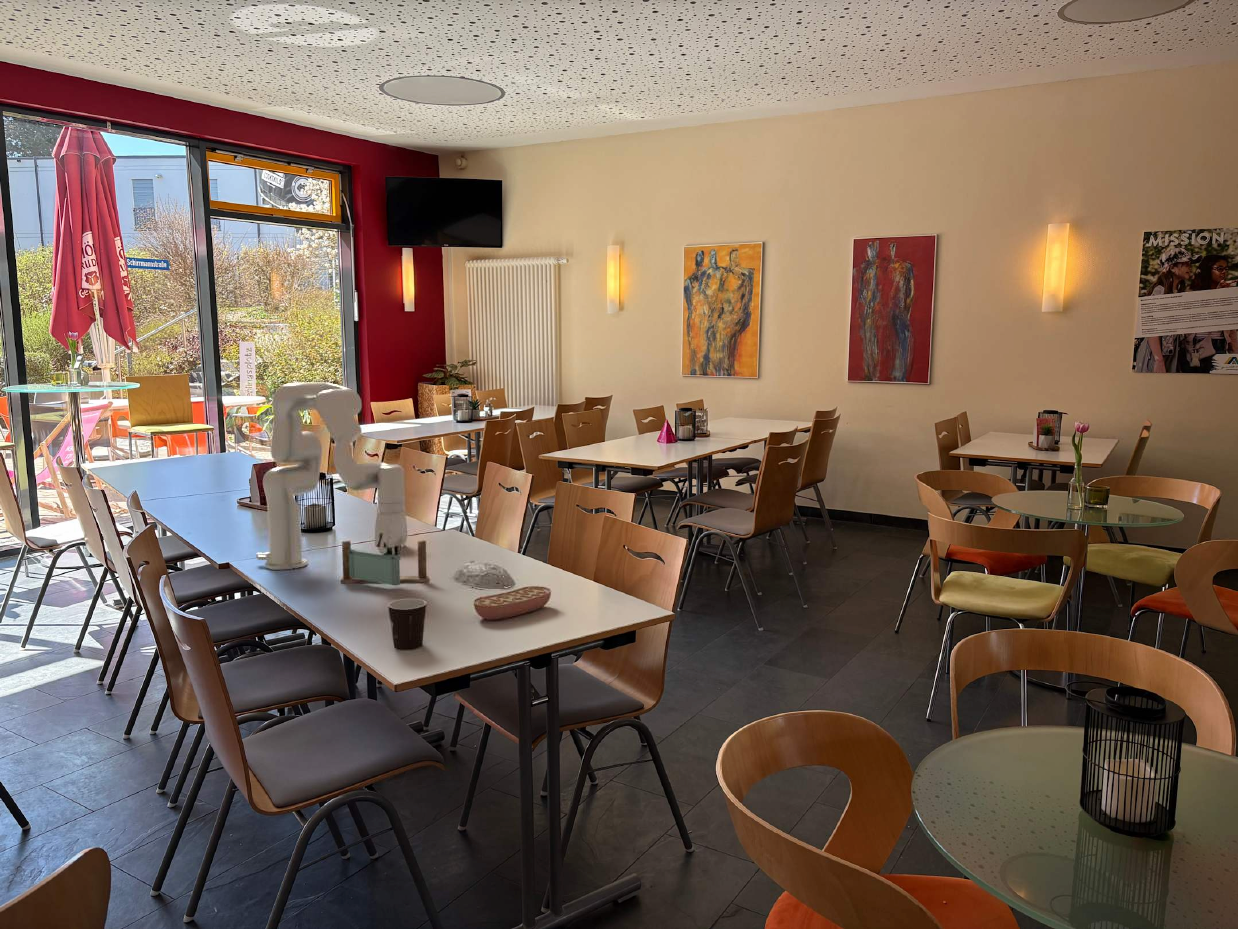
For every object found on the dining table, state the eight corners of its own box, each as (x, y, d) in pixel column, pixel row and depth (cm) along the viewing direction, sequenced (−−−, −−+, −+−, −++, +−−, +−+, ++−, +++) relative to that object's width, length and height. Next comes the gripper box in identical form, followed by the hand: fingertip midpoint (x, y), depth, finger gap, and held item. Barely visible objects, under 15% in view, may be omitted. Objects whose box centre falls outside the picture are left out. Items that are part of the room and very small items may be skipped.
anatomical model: (536, 602, 238) (536, 584, 237) (560, 609, 231) (560, 591, 230) (466, 619, 222) (466, 600, 221) (490, 628, 215) (489, 608, 214)
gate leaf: (348, 577, 255) (347, 549, 254) (352, 576, 257) (351, 548, 256) (397, 585, 247) (396, 557, 246) (401, 584, 248) (400, 555, 247)
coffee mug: (396, 639, 205) (395, 598, 204) (432, 640, 205) (431, 599, 203) (378, 655, 194) (377, 612, 193) (416, 657, 193) (415, 613, 192)
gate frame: (340, 583, 255) (339, 543, 253) (344, 579, 259) (342, 540, 257) (426, 582, 256) (425, 542, 255) (428, 579, 260) (427, 539, 259)
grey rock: (486, 592, 245) (487, 569, 245) (437, 580, 263) (438, 558, 263) (529, 588, 256) (530, 565, 256) (479, 577, 274) (480, 555, 274)
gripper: (395, 502, 259) (396, 562, 261) (364, 510, 245) (366, 574, 247) (417, 504, 256) (418, 565, 259) (387, 513, 242) (388, 576, 245)
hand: (392, 569), depth 253 cm, fingers closed
